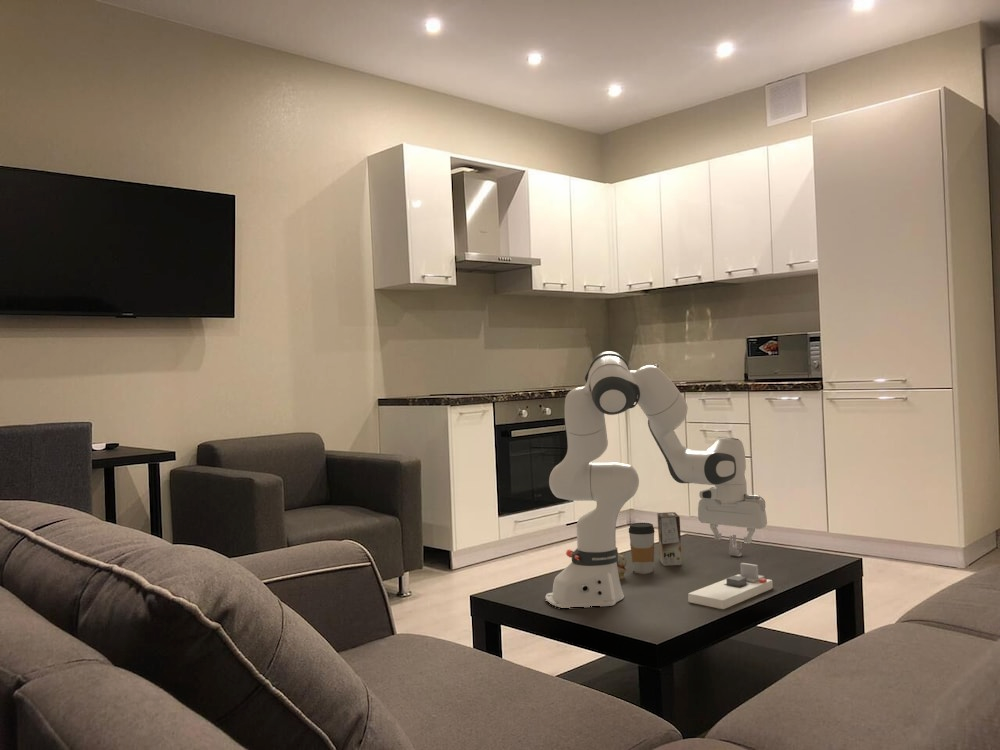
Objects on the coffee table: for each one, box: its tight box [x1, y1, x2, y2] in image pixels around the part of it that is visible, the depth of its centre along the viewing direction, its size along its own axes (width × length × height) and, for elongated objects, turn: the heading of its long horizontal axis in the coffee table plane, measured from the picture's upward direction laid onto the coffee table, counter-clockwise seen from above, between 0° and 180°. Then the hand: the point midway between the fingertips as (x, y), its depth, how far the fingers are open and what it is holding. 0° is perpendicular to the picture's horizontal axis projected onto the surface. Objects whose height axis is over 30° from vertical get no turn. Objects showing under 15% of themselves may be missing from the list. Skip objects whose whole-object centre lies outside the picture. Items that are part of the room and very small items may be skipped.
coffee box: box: [657, 511, 683, 567], centre depth 271 cm, size 9×6×16 cm
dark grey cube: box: [725, 575, 747, 588], centre depth 232 cm, size 4×4×4 cm
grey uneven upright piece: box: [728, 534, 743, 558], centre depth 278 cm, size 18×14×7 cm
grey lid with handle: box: [739, 562, 765, 582], centre depth 236 cm, size 6×6×4 cm
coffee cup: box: [628, 522, 656, 574], centre depth 261 cm, size 8×8×15 cm
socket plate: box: [687, 573, 774, 610], centre depth 229 cm, size 26×11×3 cm, turn 133°
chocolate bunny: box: [618, 552, 628, 581], centre depth 254 cm, size 6×8×10 cm
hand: (732, 541), depth 233 cm, fingers open, 8 cm apart
